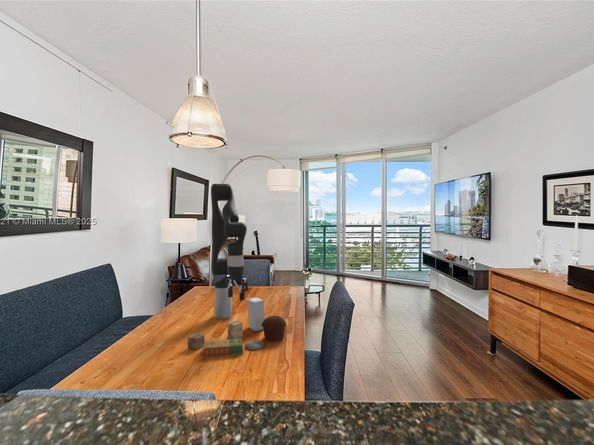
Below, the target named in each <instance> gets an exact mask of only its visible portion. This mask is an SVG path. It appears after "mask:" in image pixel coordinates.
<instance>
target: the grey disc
mask: <svg viewBox="0 0 594 445" xmlns="http://www.w3.org/2000/svg"><path fill="white" fill-rule="evenodd" d="M264 345H265V344H264V342H263V341H262V340H261V341H260V340H251V341H247V342H246V343H245V348H244V349H246V350H248V351H258V350H262V349H263V348H264Z"/></svg>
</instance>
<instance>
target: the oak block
mask: <svg viewBox="0 0 594 445" xmlns="http://www.w3.org/2000/svg"><path fill="white" fill-rule="evenodd" d="M243 326H244V325H243V322H242V321H241V320H237V319H235V320H232V321H228V322H227V326H226V327H227V339H237V338H243V337H244V335H243V333H244V332H243Z"/></svg>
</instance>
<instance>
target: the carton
mask: <svg viewBox="0 0 594 445" xmlns="http://www.w3.org/2000/svg"><path fill="white" fill-rule="evenodd" d="M242 338H243V337H241V338H237V339H230V338H227V339H218V340H215V339H214V340H207V341H205V342H204V346H203V347H202V348H203V349H202V358H203V359H207V358H208V359H209V358H216V357H217V358H218V357H227V356H235V355H236V356H237V355H243V354H244V347H243V346H244V345H243V340H242Z"/></svg>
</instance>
